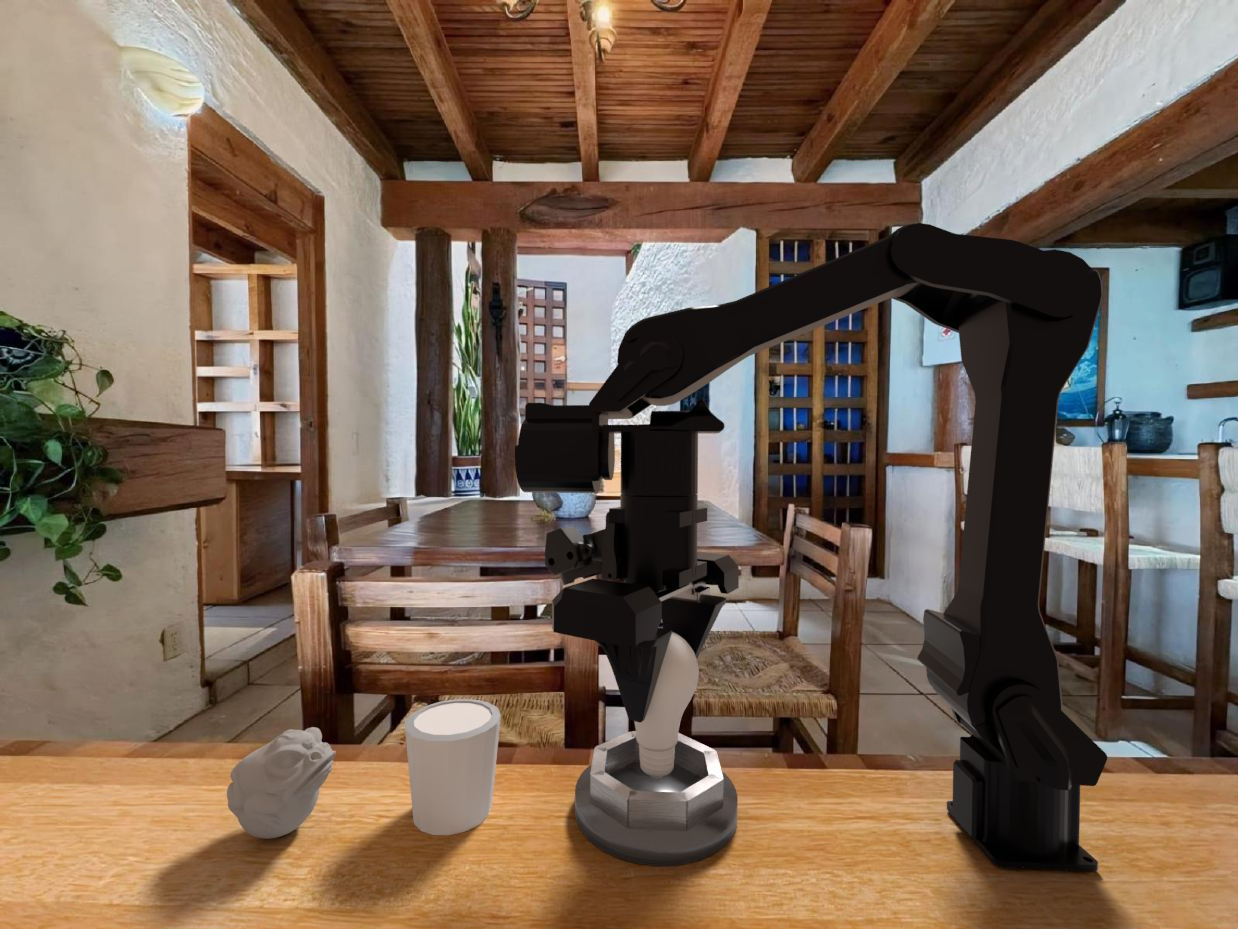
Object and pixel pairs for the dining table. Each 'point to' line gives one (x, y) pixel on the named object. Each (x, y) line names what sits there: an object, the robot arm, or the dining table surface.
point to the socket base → (656, 804)
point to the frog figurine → (280, 783)
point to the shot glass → (452, 764)
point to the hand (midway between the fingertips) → (657, 703)
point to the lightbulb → (667, 708)
